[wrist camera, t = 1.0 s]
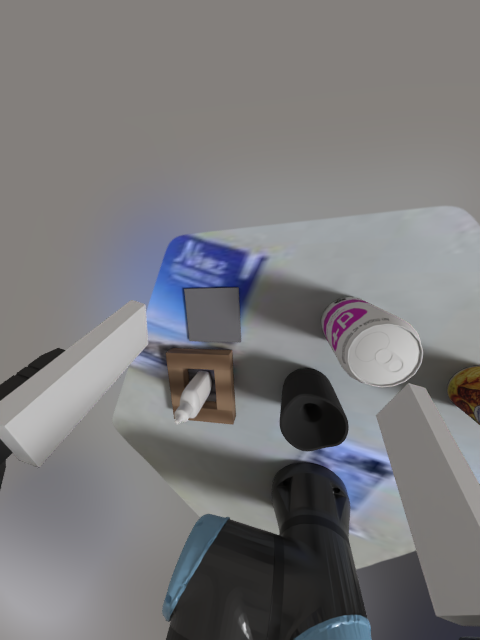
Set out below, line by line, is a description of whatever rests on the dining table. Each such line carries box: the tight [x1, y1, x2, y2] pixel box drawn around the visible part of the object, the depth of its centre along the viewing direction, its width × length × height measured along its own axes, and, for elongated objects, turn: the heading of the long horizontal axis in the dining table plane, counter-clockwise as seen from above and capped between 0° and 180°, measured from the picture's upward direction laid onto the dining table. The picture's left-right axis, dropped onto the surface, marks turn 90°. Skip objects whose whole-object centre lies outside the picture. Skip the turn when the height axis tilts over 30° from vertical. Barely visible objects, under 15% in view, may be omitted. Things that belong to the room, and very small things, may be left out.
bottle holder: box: [166, 348, 236, 424], centre depth 44 cm, size 14×12×2 cm
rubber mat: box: [184, 287, 241, 342], centre depth 41 cm, size 10×10×1 cm
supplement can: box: [321, 297, 423, 387], centre depth 30 cm, size 8×8×15 cm
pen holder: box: [280, 369, 348, 451], centre depth 37 cm, size 9×9×10 cm
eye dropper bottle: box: [174, 371, 212, 424], centre depth 40 cm, size 4×6×12 cm
